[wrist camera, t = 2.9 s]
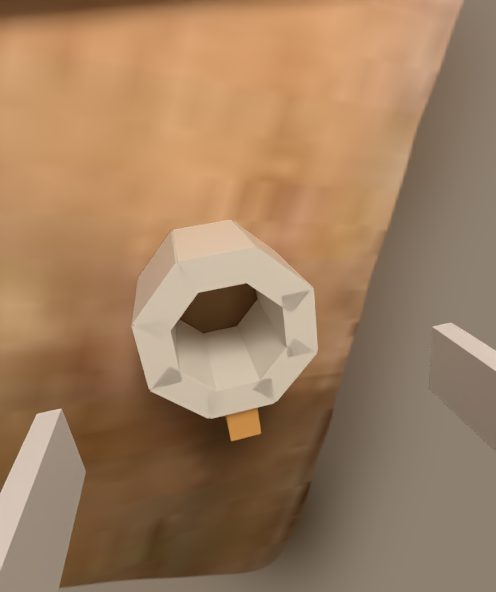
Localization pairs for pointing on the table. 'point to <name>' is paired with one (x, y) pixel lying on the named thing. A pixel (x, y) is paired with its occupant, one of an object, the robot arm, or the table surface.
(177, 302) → the beige octagonal hollow block
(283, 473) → the table surface
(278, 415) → the table surface
